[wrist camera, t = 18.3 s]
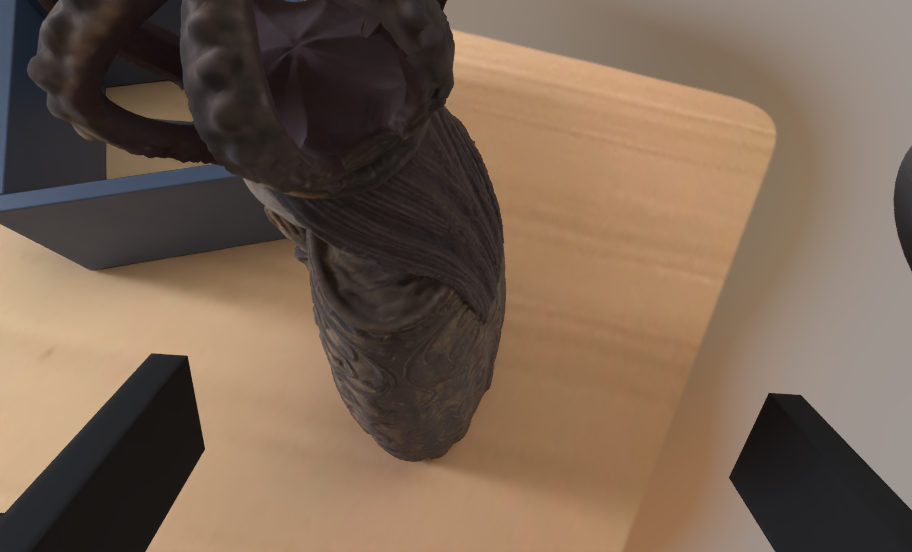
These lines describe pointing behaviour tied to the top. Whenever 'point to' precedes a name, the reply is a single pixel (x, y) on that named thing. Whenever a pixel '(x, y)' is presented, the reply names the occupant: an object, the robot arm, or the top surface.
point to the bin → (84, 172)
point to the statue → (326, 177)
